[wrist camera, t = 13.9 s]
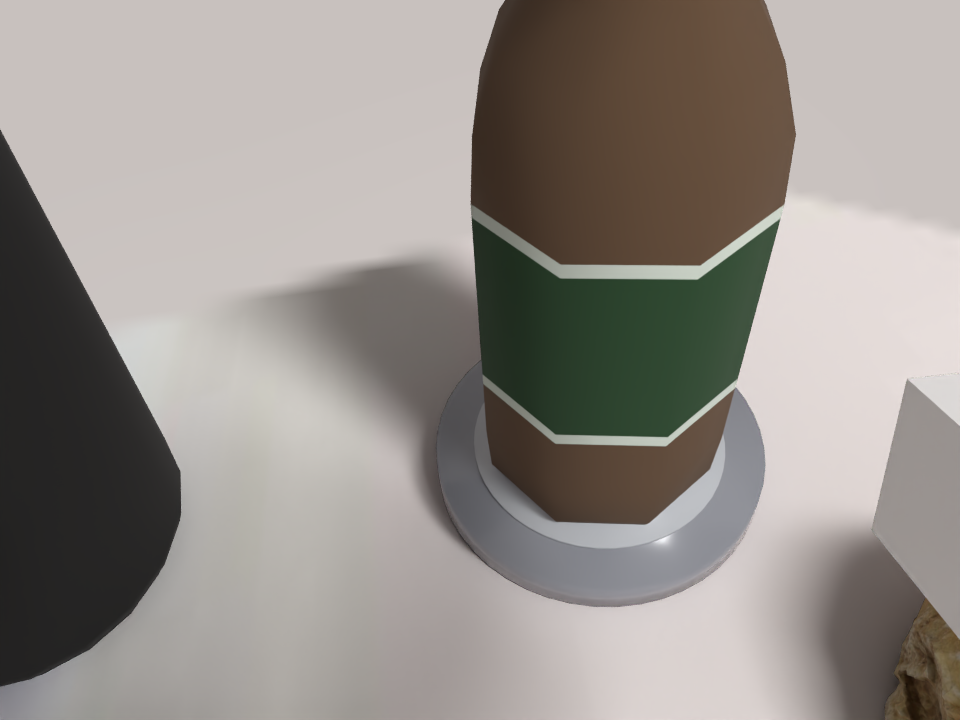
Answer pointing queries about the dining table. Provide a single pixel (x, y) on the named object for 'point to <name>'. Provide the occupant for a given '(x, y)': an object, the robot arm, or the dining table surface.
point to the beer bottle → (622, 239)
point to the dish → (596, 546)
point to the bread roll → (927, 671)
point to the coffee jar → (68, 455)
